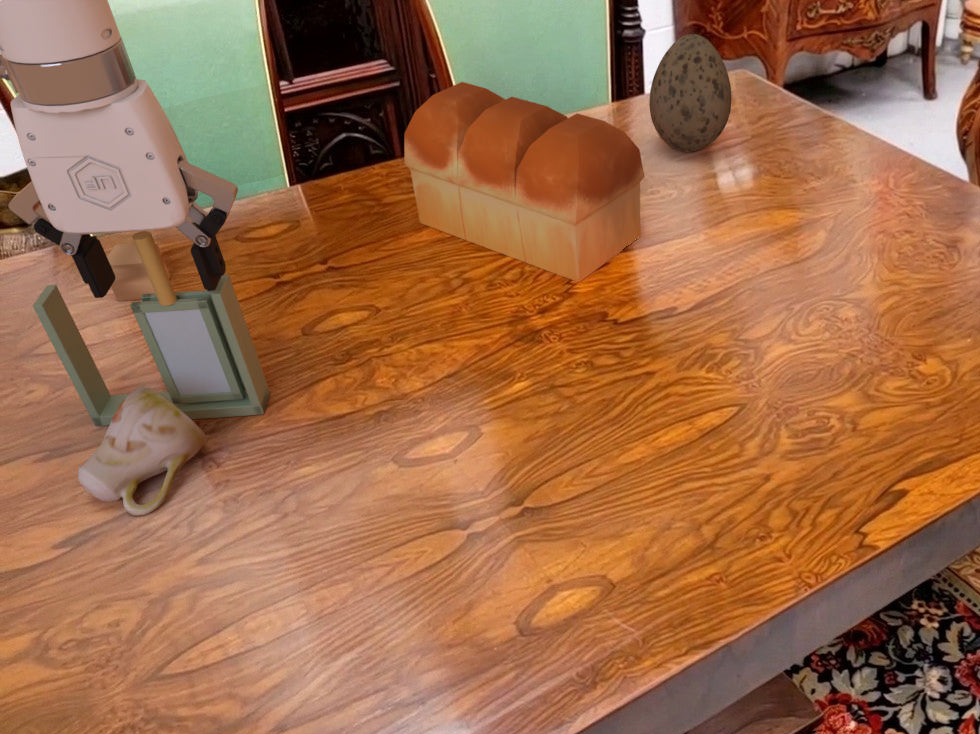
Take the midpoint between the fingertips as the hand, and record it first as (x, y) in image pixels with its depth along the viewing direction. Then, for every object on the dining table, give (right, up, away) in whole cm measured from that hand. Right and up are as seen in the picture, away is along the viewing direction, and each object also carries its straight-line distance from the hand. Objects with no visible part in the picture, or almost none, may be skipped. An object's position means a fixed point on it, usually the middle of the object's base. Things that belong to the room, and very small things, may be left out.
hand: (160, 284), depth 77 cm
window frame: (-3, -10, +9) cm, 14 cm away
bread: (+26, +12, +34) cm, 45 cm away
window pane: (0, -9, +8) cm, 12 cm away
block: (-15, +4, +25) cm, 29 cm away
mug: (-2, -16, +3) cm, 16 cm away
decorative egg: (+46, +27, +50) cm, 73 cm away
